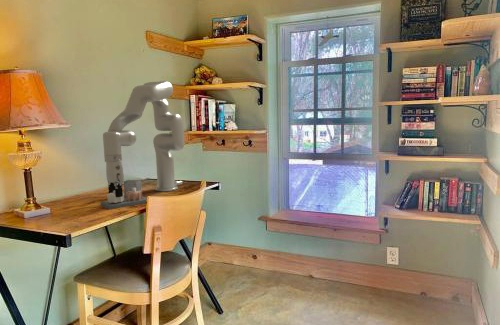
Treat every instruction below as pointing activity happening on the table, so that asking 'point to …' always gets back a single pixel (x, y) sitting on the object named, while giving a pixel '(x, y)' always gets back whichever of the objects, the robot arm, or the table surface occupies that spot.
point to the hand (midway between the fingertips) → (115, 195)
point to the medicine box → (132, 185)
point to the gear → (114, 198)
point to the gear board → (126, 200)
